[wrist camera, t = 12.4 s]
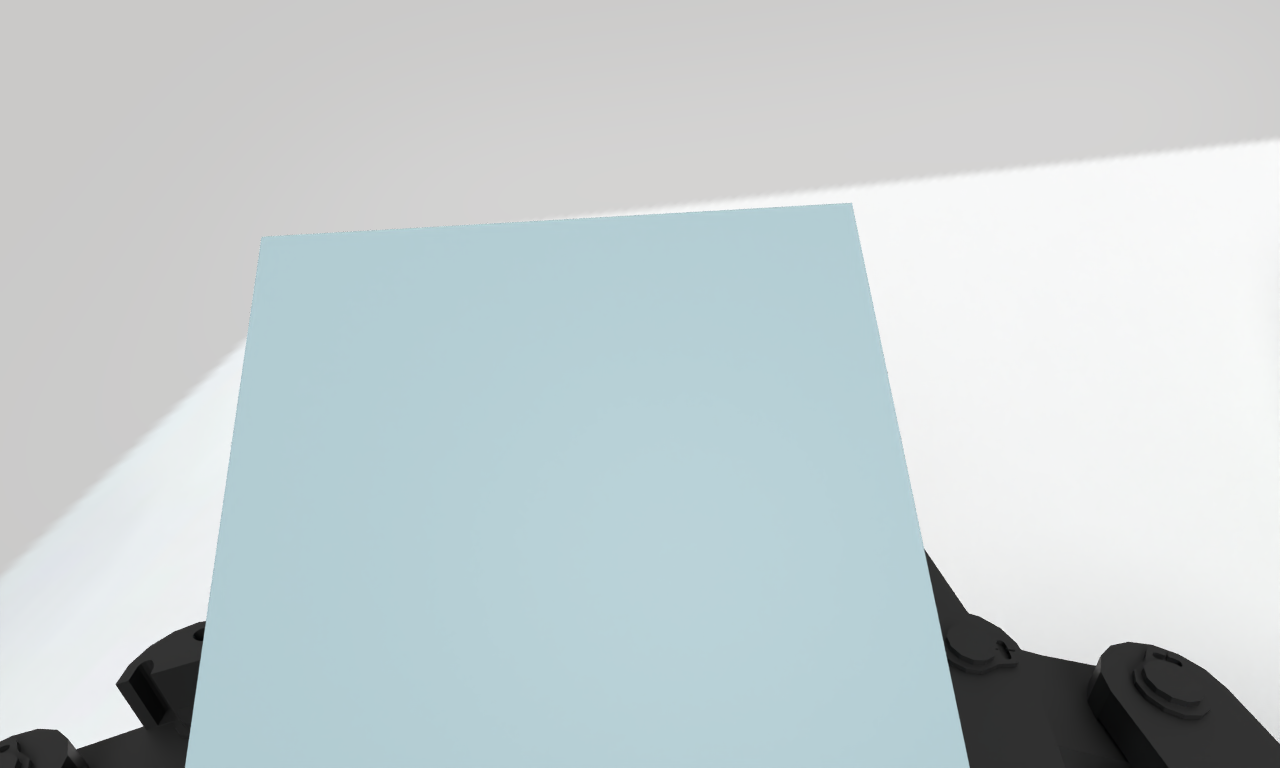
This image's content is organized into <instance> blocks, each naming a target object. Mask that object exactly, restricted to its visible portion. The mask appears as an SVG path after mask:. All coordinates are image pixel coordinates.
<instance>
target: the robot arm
mask: <svg viewBox="0 0 1280 768" xmlns="http://www.w3.org/2000/svg"><path fill="white" fill-rule="evenodd" d="M924 551H925V549H924ZM925 556H926V561H927V566H928V570H929V575H930V580H931V585H932V589H933V594H934V599H935V604H936V609H937V613H938V618H939V623H940V628H941V633H942V637H943V642H944V647H945V652H946V657H947V661H948V666H949V671H950V676H951V680H952V685H953V690H954V695H955V700H956V704H957V709H958V714H959V719H960V724H961V728H962V733H963V738H964V743H965V747H966V752H967V757H968V762H969V767H970V768H1280V744H1279V743H1278V742H1277V741H1276V740H1275V738H1274V737H1273V736H1272V735H1271V734H1270V733H1269V732H1268V731H1267V730H1266V729H1265V728H1264V727H1263V726H1262V725H1261V724H1260V723H1259V722H1258V721H1257V719H1256V718H1255V717H1254V716H1253V715H1252V714H1251V713H1250V712H1249V711H1248V710H1247V709H1246V708H1245V707H1244V706H1243V705H1242V704H1241V703H1240V701H1239V700H1238V699H1237V698H1236V697H1235V696H1234V695H1233V694H1232V693H1231V692H1230V691H1229V690H1228V689H1227V688H1226V687H1225V686H1224V685H1223V684H1221V683H1220V682H1219V681H1218V680H1217V679H1215V678H1214V677H1213V676H1212V675H1211V674H1210V673H1208V672H1207V671H1206V670H1205V669H1203V668H1201V667H1200V666H1198V665H1196V664H1194V663H1193V662H1191V661H1189V660H1187V659H1186V658H1184V657H1182V656H1180V655H1179V654H1176V653H1173V652H1170V651H1168V650H1165V649H1162V648H1159V647H1156V646H1154V645H1149V644H1141V643H1133V642H1126V643H1121V644H1116V645H1111V646H1110V647H1109V648H1108V649H1107V650H1106V651H1105V652H1104V653H1103V654H1102V655H1101V657H1100V659H1099V661H1098V663H1097V665H1096V666H1094V665H1089V664H1083V663H1078V662H1073V661H1068V660H1063V659H1058V658H1052V657H1047V656H1042V655H1038V654H1035V653H1031V652H1027V651H1024V650H1021V649H1020V648H1019V646H1018V645H1017V643H1016V642H1015V641H1014V640H1013V639H1011V638H1010V637H1009V636H1008V635H1007V634H1006V633H1005V632H1004V631H1003V630H1002V629H1000V628H999V627H997V626H995V625H994V624H992V623H990V622H988V621H986V620H985V619H983V618H981V617H979V616H976V615H972V614H969V613H968V612H967V611H966V609H965V608H964V607H963V605H962V604H961V602H960V601H959V599H958V598H957V596H956V595H955V593H954V592H953V590H952V589H951V587H950V586H949V584H948V583H947V582H946V580H945V579H944V577H943V576H942V574H941V573H940V571H939V570H938V568H937V567H936V565H935V564H934V562H933V561H932V560H931V558H930V557H929V555H928V554H927V552H926V551H925ZM205 625H206V621H204V622H198V623H196V624H193V625H190V626H188V627H185V628H183V629H180V630H177V631H175V632H173V633H171V634H170V635H168V636H166V637H165V638H163V639H161V640H160V641H158V642H156V643H155V644H153V645H151V646H150V647H149V648H148V649H146V650H145V651H144V652H143V653H142V654H141V655H140V656H139V657H137V658H136V659H135V660H134V661H133V662H132V663H131V664H130V665H129V666H128V667H127V669H126V670H125V672H124V673H123V674H122V676H121V677H120V679H119V680H118V682H117V683H116V686H117V687H118V689H119V690H120V692H121V693H122V695H123V696H124V698H125V699H126V701H127V702H128V704H129V705H130V707H131V708H132V710H133V711H134V713H135V714H136V716H137V717H138V719H139V720H140V721H141V723H142V724H143V727H141V728H138V729H135V730H132V731H129V732H126V733H123V734H120V735H117V736H114V737H112V738H109V739H106V740H103V741H100V742H97V743H94V744H91V745H88V746H85V747H82V748H79V749H75V747H74V746H73V745H72V744H71V742H70V741H69V740H68V739H67V738H66V737H65V736H64V735H63V734H62V733H60V732H59V731H58V730H50V729H36V730H32V731H29V732H25V733H21V734H17V735H14V736H11V737H9V738H7V739H5V740H3V741H1V742H0V768H185V764H186V757H187V750H188V743H189V736H190V729H191V722H192V715H193V709H194V702H195V695H196V688H197V681H198V674H199V667H200V660H201V653H202V646H203V639H204V632H205Z"/></svg>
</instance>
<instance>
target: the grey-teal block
mask: <svg viewBox="0 0 1280 768" xmlns="http://www.w3.org/2000/svg"><path fill="white" fill-rule="evenodd" d="M185 768H970V767H969V762H968V757H967V752H966V747H965V743H964V738H963V733H962V728H961V724H960V719H959V714H958V709H957V704H956V700H955V695H954V690H953V685H952V680H951V676H950V671H949V666H948V661H947V657H946V652H945V647H944V642H943V637H942V633H941V628H940V623H939V618H938V613H937V609H936V604H935V599H934V594H933V589H932V585H931V580H930V575H929V570H928V566H927V561H926V556H925V551H924V546H923V542H922V537H921V532H920V527H919V522H918V518H917V513H916V508H915V503H914V499H913V494H912V489H911V484H910V479H909V475H908V470H907V465H906V460H905V455H904V451H903V446H902V441H901V436H900V431H899V427H898V422H897V417H896V412H895V408H894V403H893V398H892V393H891V388H890V384H889V379H888V374H887V369H886V364H885V360H884V355H883V350H882V345H881V340H880V336H879V331H878V326H877V321H876V317H875V312H874V307H873V302H872V297H871V293H870V288H869V283H868V278H867V273H866V269H865V264H864V259H863V254H862V250H861V245H860V240H859V235H858V230H857V226H856V221H855V216H854V211H853V206H852V203H843V204H825V205H808V206H791V207H773V208H756V209H738V210H721V211H703V212H686V213H669V214H651V215H634V216H616V217H599V218H581V219H564V220H547V221H529V222H512V223H494V224H477V225H460V226H442V227H425V228H407V229H390V230H372V231H355V232H339V233H322V234H321V233H320V234H304V235H286V236H268V237H262V238H261V245H260V252H259V260H258V266H257V273H256V279H255V286H254V294H253V300H252V307H251V314H250V321H249V328H248V335H247V342H246V349H245V356H244V363H243V369H242V376H241V383H240V390H239V397H238V404H237V411H236V418H235V425H234V432H233V439H232V446H231V452H230V459H229V466H228V473H227V480H226V487H225V494H224V501H223V508H222V515H221V522H220V529H219V536H218V542H217V549H216V556H215V563H214V570H213V577H212V584H211V591H210V598H209V605H208V612H207V619H206V625H205V632H204V639H203V646H202V653H201V660H200V667H199V674H198V681H197V688H196V695H195V702H194V709H193V715H192V722H191V729H190V736H189V743H188V750H187V757H186V764H185Z"/></svg>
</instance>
